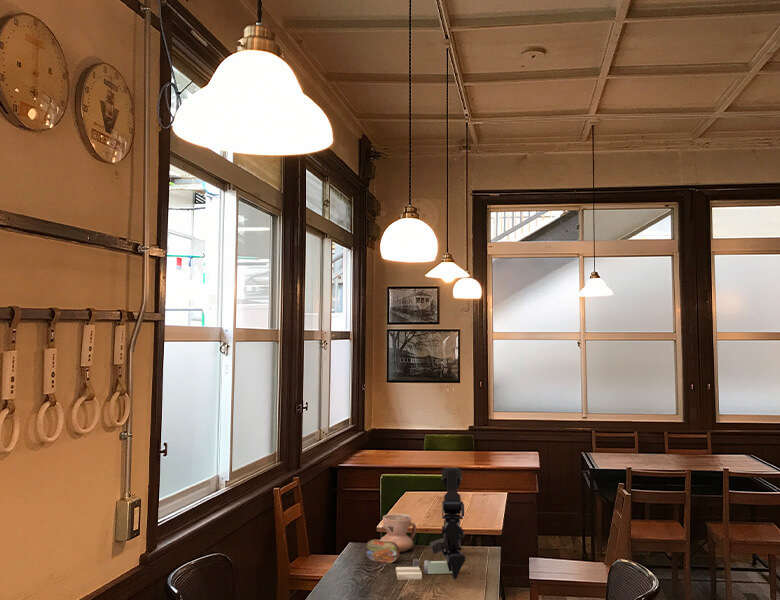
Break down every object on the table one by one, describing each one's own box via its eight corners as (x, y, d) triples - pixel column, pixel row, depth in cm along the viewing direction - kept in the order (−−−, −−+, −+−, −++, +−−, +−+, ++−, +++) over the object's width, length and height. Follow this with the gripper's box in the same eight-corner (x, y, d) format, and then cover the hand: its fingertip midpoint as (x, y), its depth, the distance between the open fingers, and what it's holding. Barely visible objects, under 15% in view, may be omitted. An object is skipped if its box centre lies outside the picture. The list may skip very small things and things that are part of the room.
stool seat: (395, 572, 272) (395, 567, 273) (418, 571, 273) (418, 566, 273) (398, 579, 264) (398, 574, 264) (421, 579, 264) (421, 573, 265)
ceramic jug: (384, 556, 294) (385, 522, 295) (371, 547, 307) (372, 514, 308) (423, 552, 301) (424, 519, 302) (409, 543, 314) (410, 511, 315)
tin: (364, 559, 290) (364, 538, 290) (368, 557, 292) (368, 537, 293) (396, 564, 283) (397, 543, 283) (400, 562, 285) (400, 541, 286)
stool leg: (424, 573, 270) (424, 562, 270) (423, 571, 272) (423, 560, 273) (458, 573, 271) (458, 561, 271) (457, 571, 273) (457, 559, 274)
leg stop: (412, 566, 280) (412, 559, 280) (417, 566, 280) (417, 559, 280) (413, 568, 278) (413, 560, 278) (418, 568, 278) (418, 560, 278)
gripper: (427, 526, 271) (427, 567, 270) (435, 539, 253) (435, 583, 252) (455, 525, 272) (456, 567, 271) (465, 538, 254) (465, 582, 253)
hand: (452, 574), depth 262 cm, fingers open, 9 cm apart
